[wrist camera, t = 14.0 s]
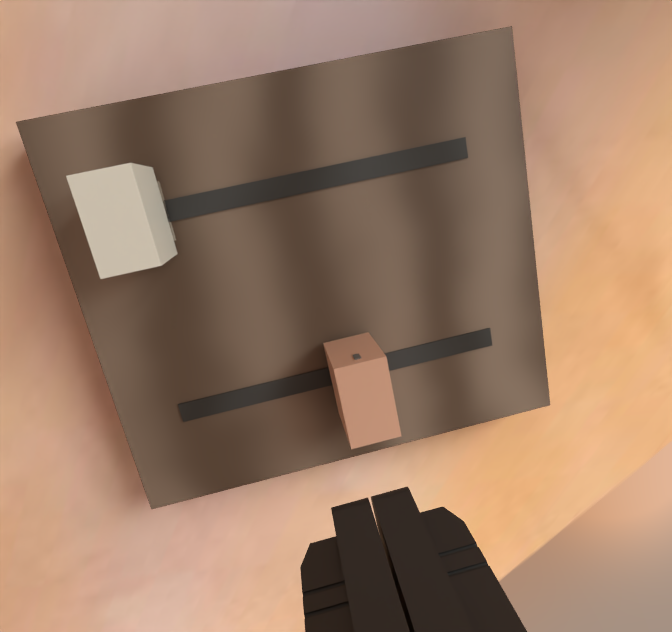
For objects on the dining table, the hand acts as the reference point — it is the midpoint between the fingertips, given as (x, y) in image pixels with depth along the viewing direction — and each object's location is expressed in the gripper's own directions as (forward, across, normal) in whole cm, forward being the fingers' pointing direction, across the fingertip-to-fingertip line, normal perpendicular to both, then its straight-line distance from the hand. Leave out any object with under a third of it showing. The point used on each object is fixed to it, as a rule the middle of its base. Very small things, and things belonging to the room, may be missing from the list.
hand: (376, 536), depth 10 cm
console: (+20, -1, -2) cm, 20 cm away
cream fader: (+17, +7, -7) cm, 19 cm away
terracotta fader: (+17, -1, +3) cm, 17 cm away
